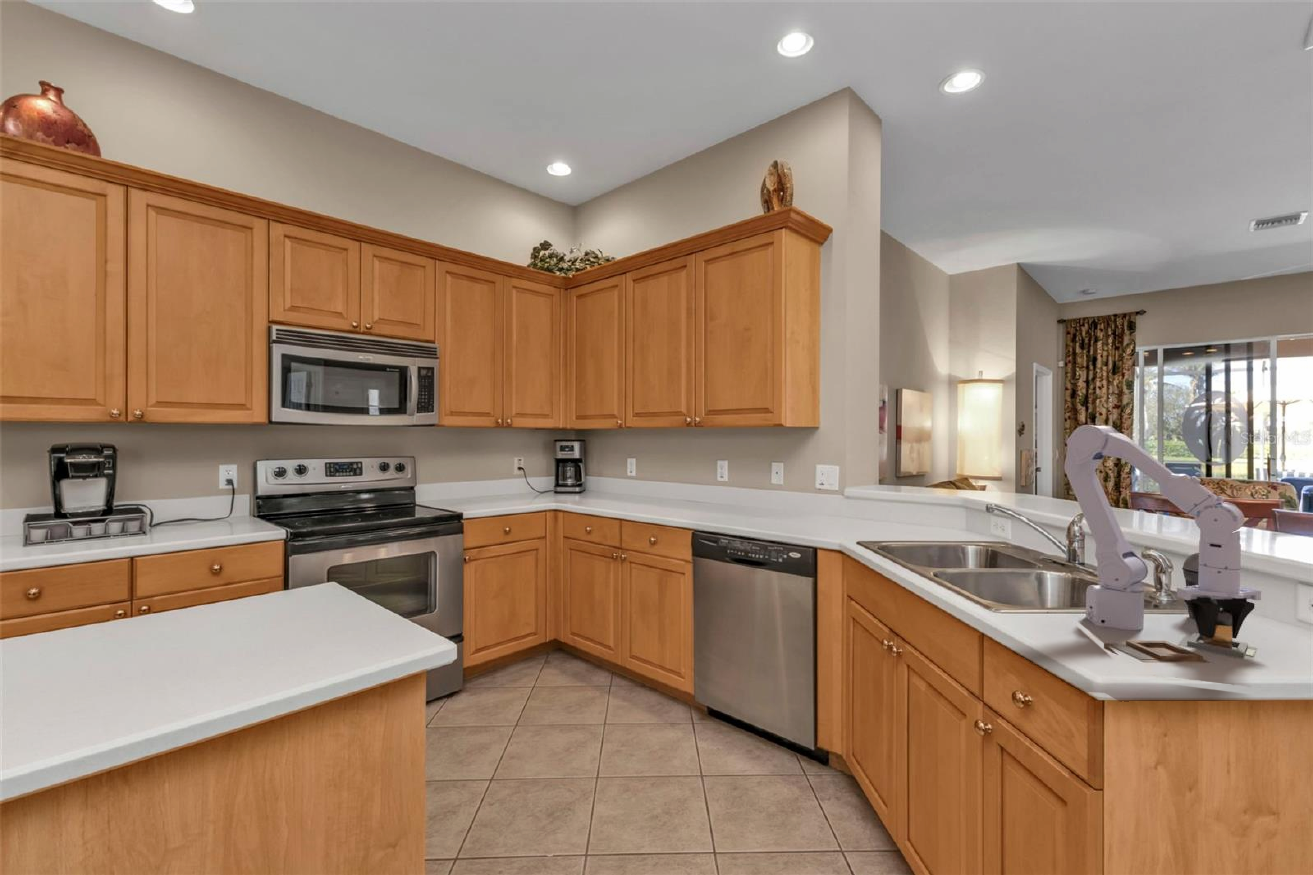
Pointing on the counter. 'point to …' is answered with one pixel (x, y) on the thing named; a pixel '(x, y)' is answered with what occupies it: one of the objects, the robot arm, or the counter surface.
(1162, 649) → the trough board
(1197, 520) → the robot arm
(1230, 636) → the cell
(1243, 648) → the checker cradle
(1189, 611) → the beverage cup
